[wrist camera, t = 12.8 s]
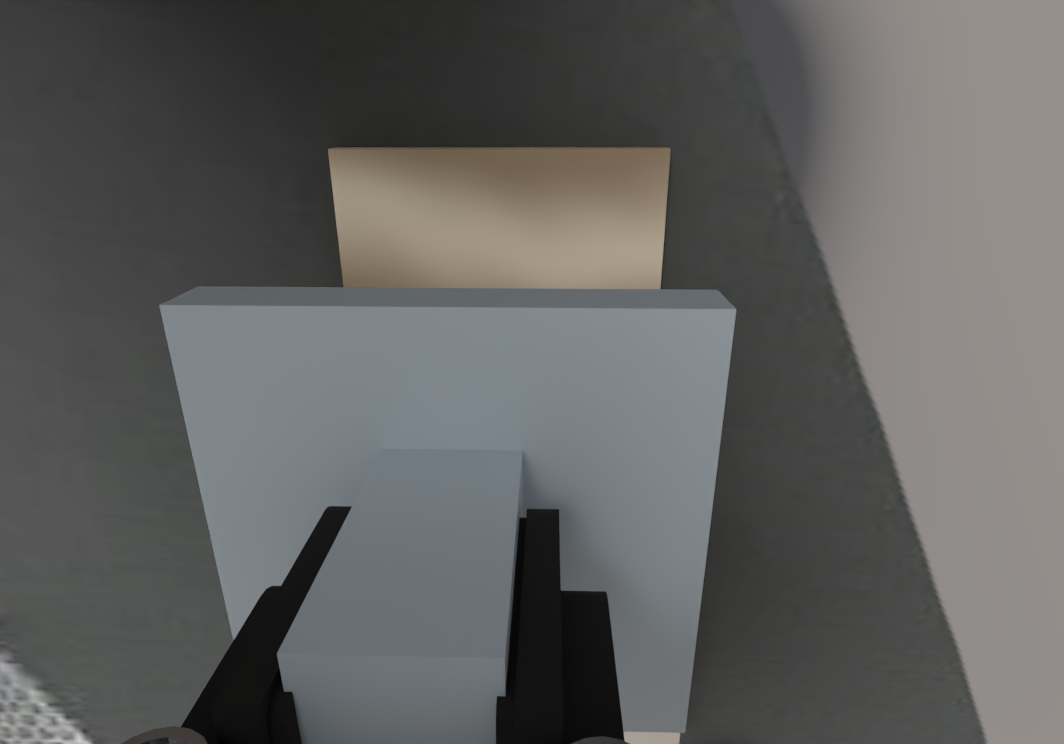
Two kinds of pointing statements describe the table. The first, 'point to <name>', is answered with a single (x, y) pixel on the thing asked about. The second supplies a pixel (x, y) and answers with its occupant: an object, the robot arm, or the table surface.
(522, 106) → the table surface
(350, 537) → the cover
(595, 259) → the pad
